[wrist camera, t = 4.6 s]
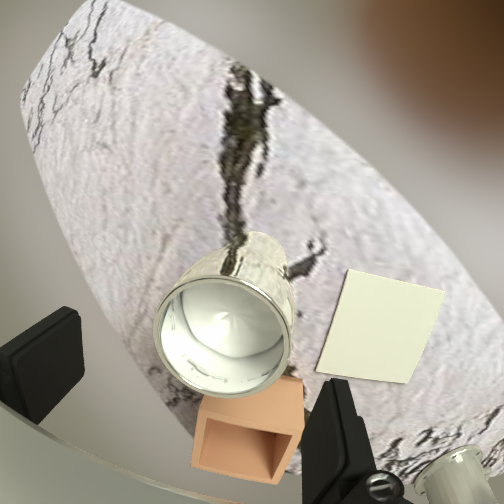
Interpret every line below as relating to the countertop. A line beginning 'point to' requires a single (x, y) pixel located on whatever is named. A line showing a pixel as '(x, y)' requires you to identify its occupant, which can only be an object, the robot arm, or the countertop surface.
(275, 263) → the beer glass
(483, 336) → the countertop surface
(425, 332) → the plain cream tile
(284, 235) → the countertop surface
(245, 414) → the open box
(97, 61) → the countertop surface
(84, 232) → the countertop surface
